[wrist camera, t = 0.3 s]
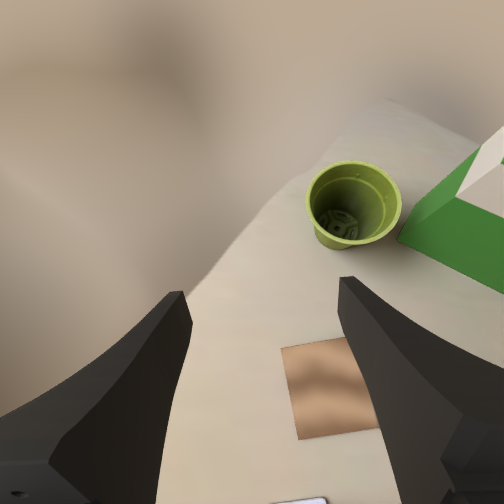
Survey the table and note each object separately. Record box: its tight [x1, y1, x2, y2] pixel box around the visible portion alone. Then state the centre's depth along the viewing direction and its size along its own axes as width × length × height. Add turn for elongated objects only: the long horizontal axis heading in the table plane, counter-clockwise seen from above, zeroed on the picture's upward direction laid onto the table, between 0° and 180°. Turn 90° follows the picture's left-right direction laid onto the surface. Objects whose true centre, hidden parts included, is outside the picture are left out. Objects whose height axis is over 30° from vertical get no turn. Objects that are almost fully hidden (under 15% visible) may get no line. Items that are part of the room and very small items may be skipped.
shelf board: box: [281, 337, 381, 440], centre depth 36 cm, size 12×12×2 cm
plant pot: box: [306, 160, 402, 250], centre depth 38 cm, size 12×12×11 cm
